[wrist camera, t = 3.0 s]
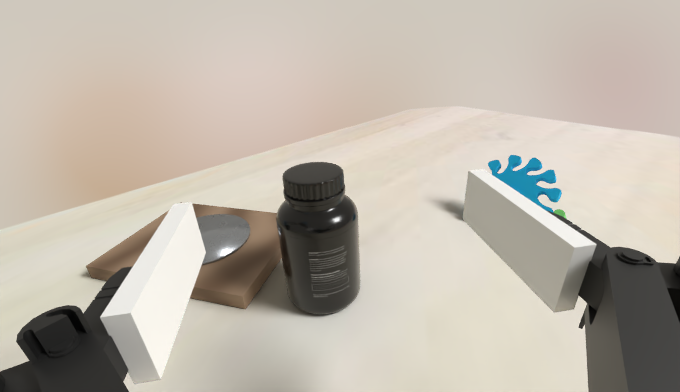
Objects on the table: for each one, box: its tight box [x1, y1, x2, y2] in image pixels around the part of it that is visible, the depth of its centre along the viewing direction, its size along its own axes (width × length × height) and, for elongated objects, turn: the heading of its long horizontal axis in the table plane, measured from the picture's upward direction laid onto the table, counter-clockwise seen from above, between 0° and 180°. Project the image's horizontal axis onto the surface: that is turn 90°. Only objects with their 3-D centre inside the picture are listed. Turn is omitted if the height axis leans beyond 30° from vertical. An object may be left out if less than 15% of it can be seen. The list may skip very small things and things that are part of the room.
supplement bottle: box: [276, 162, 360, 314], centre depth 28 cm, size 7×7×12 cm
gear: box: [465, 155, 566, 218], centre depth 40 cm, size 11×6×10 cm
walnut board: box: [86, 202, 282, 309], centre depth 37 cm, size 18×14×2 cm
